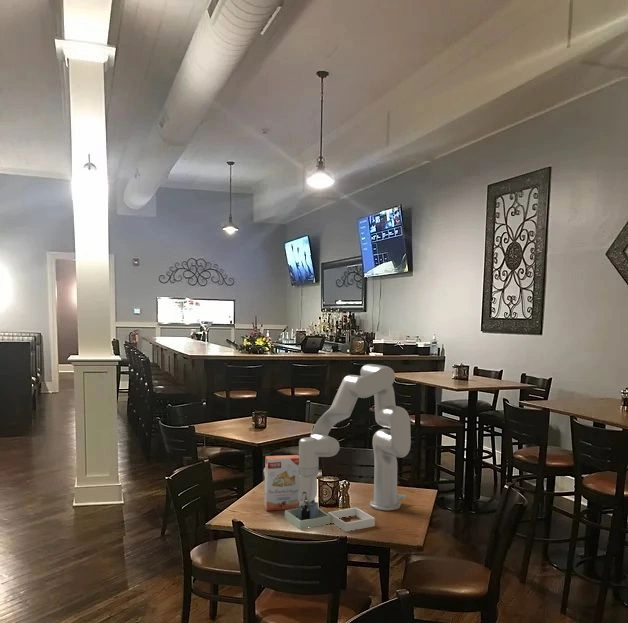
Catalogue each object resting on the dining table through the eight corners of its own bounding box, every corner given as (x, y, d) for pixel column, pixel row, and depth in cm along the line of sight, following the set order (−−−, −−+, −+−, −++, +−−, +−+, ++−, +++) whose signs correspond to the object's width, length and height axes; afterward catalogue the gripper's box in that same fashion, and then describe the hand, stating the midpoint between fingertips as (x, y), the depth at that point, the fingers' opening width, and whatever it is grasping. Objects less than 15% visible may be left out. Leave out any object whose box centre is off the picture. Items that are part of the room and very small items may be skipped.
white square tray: (356, 515, 219) (356, 507, 219) (374, 526, 208) (374, 518, 208) (327, 520, 213) (327, 512, 213) (345, 531, 201) (345, 523, 201)
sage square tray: (314, 513, 220) (314, 505, 220) (330, 524, 209) (330, 516, 209) (284, 518, 214) (284, 510, 214) (299, 529, 203) (300, 521, 203)
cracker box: (266, 511, 221) (267, 459, 221) (263, 506, 227) (264, 455, 227) (300, 509, 225) (301, 457, 225) (296, 504, 230) (297, 454, 231)
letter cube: (303, 516, 215) (303, 500, 215) (317, 518, 214) (318, 502, 214) (298, 521, 210) (298, 505, 210) (313, 523, 208) (313, 507, 208)
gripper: (306, 464, 221) (305, 509, 221) (292, 475, 205) (291, 524, 204) (324, 465, 219) (323, 511, 219) (311, 477, 202) (311, 527, 202)
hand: (308, 517), depth 212 cm, fingers closed on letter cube, 6 cm apart
